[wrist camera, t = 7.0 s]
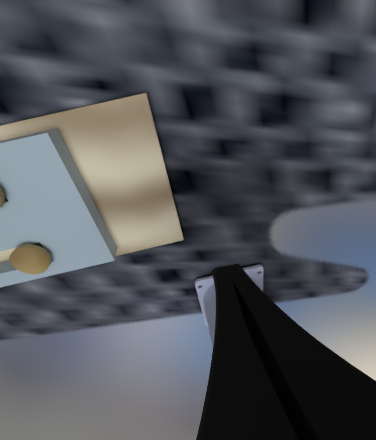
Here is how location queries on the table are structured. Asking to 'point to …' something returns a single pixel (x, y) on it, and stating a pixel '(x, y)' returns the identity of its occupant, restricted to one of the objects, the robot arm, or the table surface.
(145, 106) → the board
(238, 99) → the table surface
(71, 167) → the panel
